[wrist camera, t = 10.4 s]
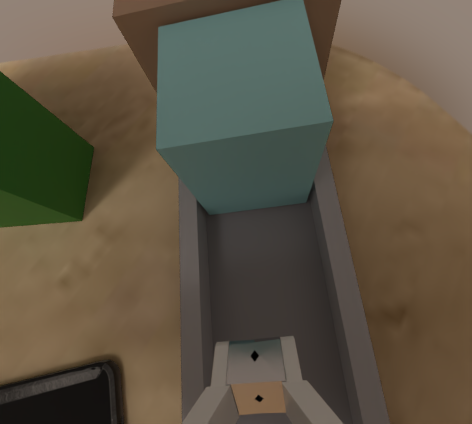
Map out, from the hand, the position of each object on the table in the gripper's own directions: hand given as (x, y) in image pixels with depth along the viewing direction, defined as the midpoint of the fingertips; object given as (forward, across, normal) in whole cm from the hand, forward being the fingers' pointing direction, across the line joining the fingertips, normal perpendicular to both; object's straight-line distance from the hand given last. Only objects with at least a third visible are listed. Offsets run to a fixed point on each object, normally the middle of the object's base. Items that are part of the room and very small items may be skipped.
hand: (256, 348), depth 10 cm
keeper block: (+12, -1, -4) cm, 13 cm away
